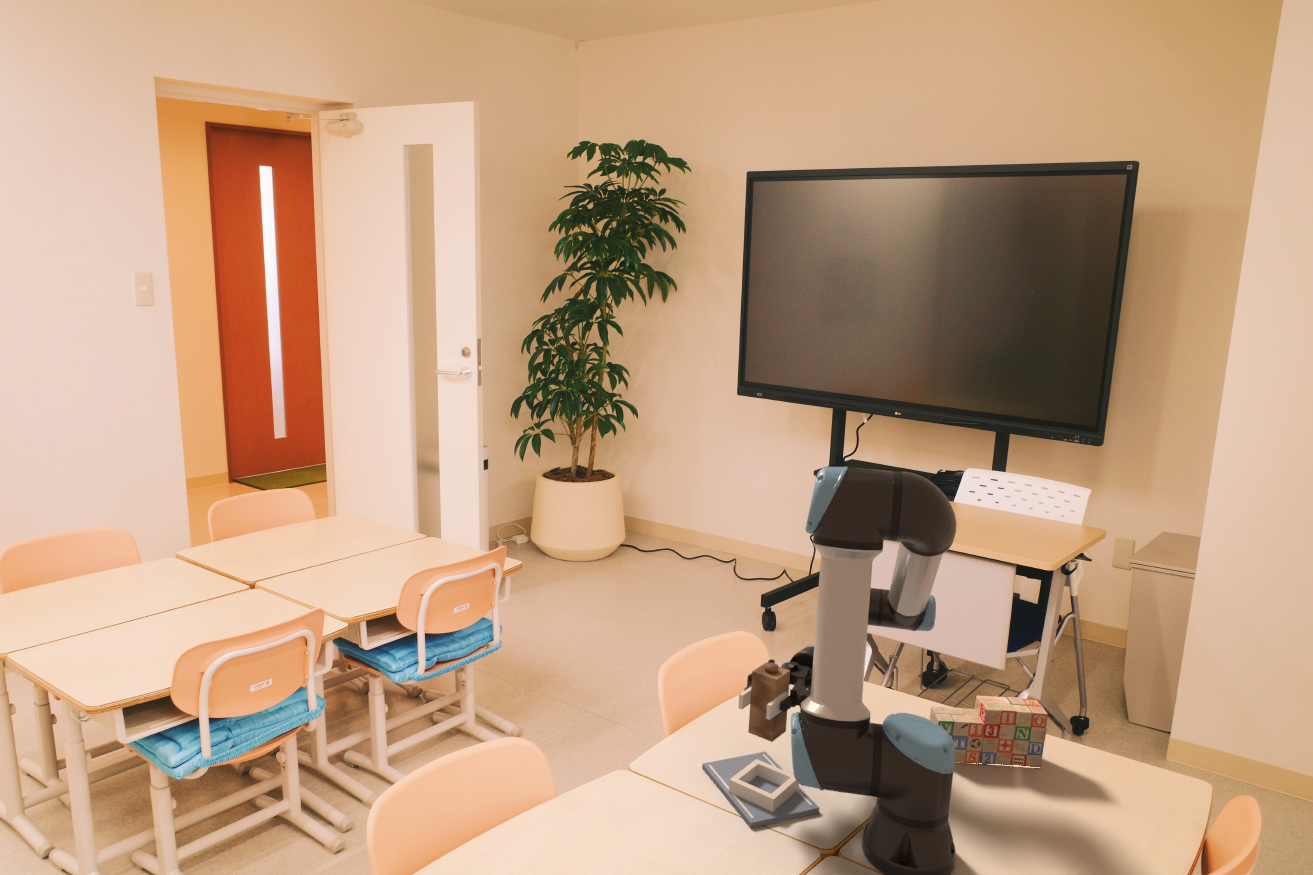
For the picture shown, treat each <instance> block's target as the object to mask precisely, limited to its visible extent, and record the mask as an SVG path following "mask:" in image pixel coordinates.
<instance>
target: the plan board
mask: <svg viewBox="0 0 1313 875" xmlns="http://www.w3.org/2000/svg"><path fill="white" fill-rule="evenodd" d="M755 759H758V760H760V761H762V762H765V763H767V764H770V765H772V766H774V767H777V768H779V769H781V770H784V769H783V768H782V767H781V766H780V765H779V764H778V763H777V762H776V761H775V760H774V759H773V757H772V756H770V755H769V753H768V752H767V751H761V752H756V753H751V754H745V755H740V756H735V757H730V758H725V759H724V758H723V759H719V760H714V761H709V762H705V763H704V762H703V763H702V766H701V768H702V770H703V771H704V773H705V774H706V775H707V776H708V777H709V779H710V780H711V781H712V783H713V784H714V785H715V786H716V788H717V789H719V791H720V792H721V793H722V795H723V796H724V797H725V799H726V800H727V801H728V802H729V804H730V805H732V807H733V809H734V810H735V811H736V812H737V813H738V815H739V816H740V818H742V820H743V821H744V822H745V823H746V824H747V826H748V827H749V829H752V828H756V827H757V828H758V827H762V826H766V825H769V824H770V825H772V824H775V823H779V822H783V821H788V820H792V819H797V818H802V817H805V816H810V815H814V814H819V813H820V807H819V806H818V805H817V803H816V802H815V801H813V799H812V798H811V797H810V796H809V795H808V794H807V793H806V792H805V791H804V790H803V789H802V787H800V786H799V789H798V790H797V791H796V792H795V793H794V794H793V795H791V796H790V797H789V798H788V799H787V800H786V801H785V802H784V803H782V804H781V805H780V806H779V807H778V808H777V809H776V810H775V811H773V812H772V811H769V810H767V809H765V808H763V807H761V806H758V805H756V804H754V803H752V802H750V801H748V800H745V799H743V798H741V797H739V796H737V795H735V794H733V793H730V792H729V780H730V779H731V778H732V777H734V776H735V775H736V774H737V773H739V772H740V771H741V770H743V769H744V768H745V767H746V766H748V765H749V764H750V763H752V762H753V761H754V760H755ZM748 784H750V785H752V786H755V787H757V788H759V789H761V790H764V791H766V792H768V793H771V794H772V793H773V792H774V791H775V790H776V789H778V788H779V787H780V785H778V784H776V783H773V782H771V781H769V780H766V779H764V778H762V777H759V776H756V777H755V778H754V779H753V780H752V781H750V782H749V783H748Z"/></svg>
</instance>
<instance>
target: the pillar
mask: <svg viewBox="0 0 1313 875" xmlns="http://www.w3.org/2000/svg"><path fill="white" fill-rule="evenodd" d="M775 663H776V662H775ZM775 663H768V662H765V663H763V664H761V665H760V666H759V667H756V668H755V669H754V670H752V672H751V673H752V684H751V700H750V704H749V717H748V718H749V719H748V732H747V733H749V734H751V735H753V736H756V737H759V738H762V739H764V740H766V741H768V742H772V743H773V742H775V740H777V739H778V738H779V737H781V736H782V735H783V734H785V733H786V731H787V721H788V710H787V711H781V712H780V713H779V714H777V715H776V716H774V717H773V718H772V719H770V720H768V719H766V711H767V704H768V703H770V702H771V701H772V700H774V699H775V698H777V697H778V696H780V695H781V694H782V693H784V692H788V693H789V694H790V685H789V681H790V670H787V669H784V668H781V667H778V665H779V664H778V663H776V664H775ZM777 664H778V665H777Z"/></svg>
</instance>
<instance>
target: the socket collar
mask: <svg viewBox="0 0 1313 875" xmlns="http://www.w3.org/2000/svg"><path fill="white" fill-rule="evenodd" d="M756 776H759V777H762V778H764V779H766V780H769V781H771V782H773V783H776V784H778V785H780V787H779V788H778V789H776V790H775V791H774V792H773V793H772V794H771V793H768V792H766V791H764V790H761V789H759V788H757V787H755V786H752V785H750V784H748V783H749V782H750V781H752V780H753V779H754V778H755V777H756ZM799 787H800V784H799V783H798V782H797V781H796V779H795V777H794V773H790V772H788V771H786V770H784V769H783V770H781V769H779V768H777V767H774V766H772V765H770V764H767V763H765V762H762V761H760V760H758V759H755V760H754V761H753V762H752V763H750V764H749V765H748V766H746V767H745V768H744V769H743V770H741V771H740V772H739V773H737V774H736V775H735V776H734V777H732V778H731V779H730V780H729V792H730V793H733V794H735V795H737V796H739V797H741V798H743V799H745V800H748V801H750V802H752V803H754V804H756V805H758V806H761V807H763V808H765V809H767V810H769V811H772V812H773V811H775V810H776V809H777V808H778V807H779V806H780V805H781V804H782V803H784V802H785V801H786V800H787V799H788V798H789V797H790V796H791V795H793V794H794V793H795V792H796V791H797V790H798V789H799Z"/></svg>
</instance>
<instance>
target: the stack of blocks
mask: <svg viewBox="0 0 1313 875" xmlns="http://www.w3.org/2000/svg"><path fill="white" fill-rule="evenodd" d="M975 697H976V698H975V704H974V705H975V706H974V708H964V707H963V708H962V707H951V706H934V705H932V706H930V712H929V720H931V721H933V722H934V723H936V724H937V725H939V726H940V727H942V728H943V729H944V730H946V731H947V732H948V734H949V735H950V736H951V738H952V739H953V742H954V745H955V762H956V763H955V764H958V763H959V762H960V763H976V764H977V763H978V764H979V763H982V764H1001V765H1002V764H1003V765H1019V766H1020V765H1021V766H1030V767H1041V768H1042V762H1043V754H1044V753H1043V752H1044V747H1045V741H1046V737H1047V736H1046V735H1047V730H1048V729H1047V725H1048V724H1047V723H1048V717H1049V714H1048V712H1047V711H1046V710H1045V708H1044V707H1043V706H1042V704H1041V703H1040V702H1039V701H1038V700H1037V699H1031V698H1022V697H1017V696H1015V697H1014V696H995V695H994V696H989V695H976V696H975ZM957 762H958V763H957Z"/></svg>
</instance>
